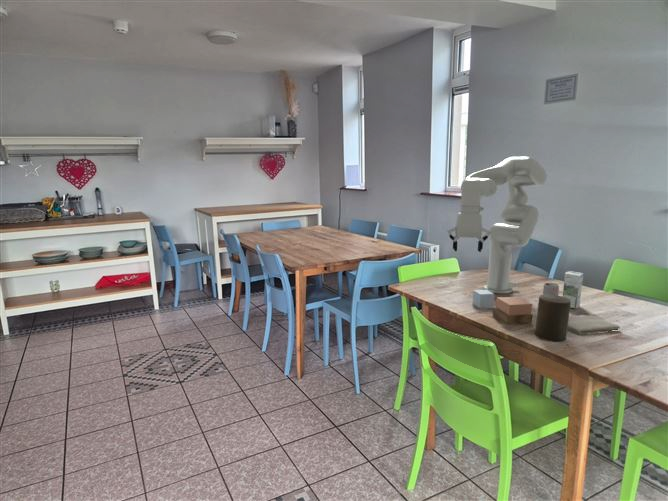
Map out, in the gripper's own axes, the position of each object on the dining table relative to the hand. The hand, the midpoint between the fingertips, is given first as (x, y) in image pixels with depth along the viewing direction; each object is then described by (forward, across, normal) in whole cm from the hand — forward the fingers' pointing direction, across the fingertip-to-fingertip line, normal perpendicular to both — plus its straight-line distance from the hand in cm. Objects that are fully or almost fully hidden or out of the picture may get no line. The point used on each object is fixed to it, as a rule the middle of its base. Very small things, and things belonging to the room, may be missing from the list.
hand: (467, 251), depth 177 cm
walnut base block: (+23, -15, +18) cm, 33 cm away
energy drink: (+23, -31, +10) cm, 40 cm away
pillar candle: (+23, -23, +34) cm, 47 cm away
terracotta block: (+19, -15, +18) cm, 30 cm away
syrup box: (+23, -43, -1) cm, 49 cm away
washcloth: (+23, -40, +23) cm, 51 cm away
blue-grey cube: (+23, -7, +3) cm, 24 cm away
